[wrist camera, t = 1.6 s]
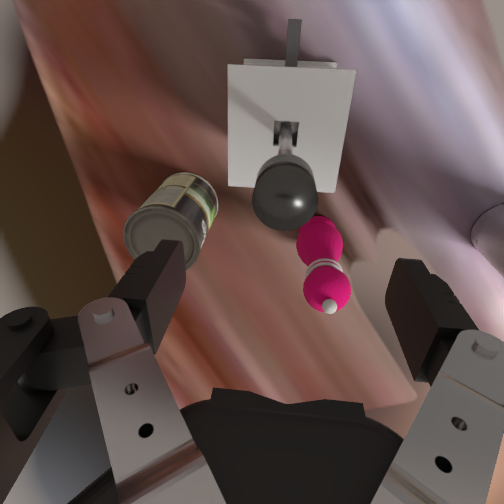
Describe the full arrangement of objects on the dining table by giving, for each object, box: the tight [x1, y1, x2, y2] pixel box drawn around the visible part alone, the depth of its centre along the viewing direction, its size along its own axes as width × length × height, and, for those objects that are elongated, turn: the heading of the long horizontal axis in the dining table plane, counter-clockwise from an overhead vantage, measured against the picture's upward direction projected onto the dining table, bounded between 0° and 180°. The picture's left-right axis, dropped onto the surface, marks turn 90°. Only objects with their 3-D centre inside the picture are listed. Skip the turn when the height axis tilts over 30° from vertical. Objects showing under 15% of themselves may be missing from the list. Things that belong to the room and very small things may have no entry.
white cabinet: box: [228, 19, 356, 193], centre depth 38 cm, size 12×16×16 cm
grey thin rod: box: [252, 121, 318, 231], centre depth 27 cm, size 9×9×22 cm
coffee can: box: [123, 172, 218, 270], centre depth 49 cm, size 10×10×14 cm
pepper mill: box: [296, 216, 351, 314], centre depth 47 cm, size 7×7×20 cm
